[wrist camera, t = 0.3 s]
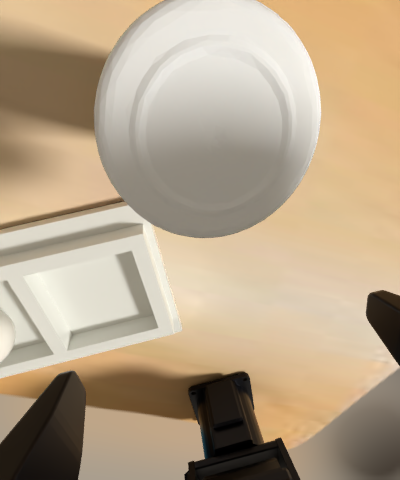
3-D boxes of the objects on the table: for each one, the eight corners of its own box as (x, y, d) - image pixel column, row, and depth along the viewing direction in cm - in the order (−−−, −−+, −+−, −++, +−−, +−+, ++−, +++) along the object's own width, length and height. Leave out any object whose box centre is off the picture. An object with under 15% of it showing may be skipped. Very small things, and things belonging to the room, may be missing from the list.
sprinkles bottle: (153, 159, 18) (159, 275, 6) (117, 85, 16) (28, 56, 4) (217, 130, 18) (345, 194, 6) (190, 51, 16) (306, -78, 4)
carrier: (181, 322, 25) (184, 345, 23) (-24, 374, 24) (-42, 403, 22) (144, 196, 19) (143, 210, 17) (-126, 257, 18) (-166, 281, 16)
